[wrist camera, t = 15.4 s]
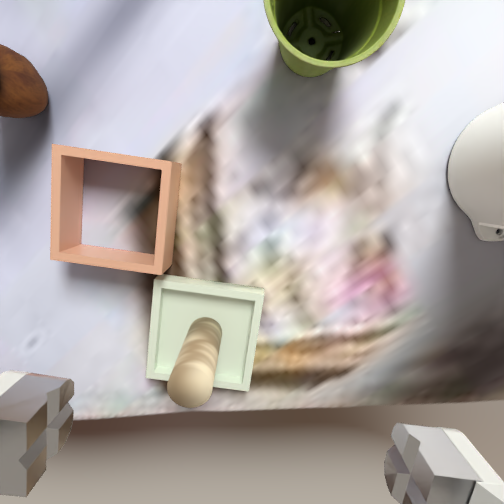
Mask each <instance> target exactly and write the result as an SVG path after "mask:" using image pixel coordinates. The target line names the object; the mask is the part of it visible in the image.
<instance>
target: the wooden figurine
mask: <svg viewBox="0 0 504 504" xmlns="http://www.w3.org/2000/svg"><path fill="white" fill-rule="evenodd" d="M47 103H48V93H47V87H46V85H45V83H44V81H43V79H42V78H41V76H40V75H39V73H38V72H37V70H36V69H35V67H34V66H33V65H32V64H31V62H30V61H28V60H27V59H26V58H25V57H24V56H22V55H20V54H18V53H17V52H15V51H13V50H11V49H10V48H8V47H6V46H3V45H1V44H0V116H3V117H12V118H27V117H31V116H35V115H37V114H39V113H40V112H42V111H43V110H45V108H46V105H47Z"/></svg>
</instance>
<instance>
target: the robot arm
mask: <svg viewBox="0 0 504 504" xmlns="http://www.w3.org/2000/svg"><path fill="white" fill-rule="evenodd" d="M448 183H449V187H450V191H451V194H452V196H453V198H454V200H455V202H456V203H457V205H458V206H459V207H460V208H461V210H462V211H463V212H464V213H465V214H466V215H467V216H468V217H469V218H470V220H471V221H472V225H473V228H474V231H475V233H476V235H477V237H478V238H479V239H480V240H483V241H504V102H503V103H501V104H499V105H497V106H495V107H493V108H491V109H488V110H487V111H485V112H483V113H482V114H480V115H479V116H477V117H476V118H475V119H474V120H472V121H471V122H470V123H469V124H468V125H467V127H466V128H465V129H464V130H463V131H462V133H461V134H460V136H459V137H458V139H457V141H456V143H455V145H454V147H453V149H452V152H451V155H450V159H449V164H448ZM497 229H499V232H498V233H497V234H496V231H497ZM73 395H74V382H73V381H72V380H71V379H67V378H61V377H55V376H48V375H42V374H35V373H28V372H21V371H14V370H10V371H5V372H3V373H2V374H1V375H0V495H9V496H20V497H27V496H28V494H29V492H30V491H31V490H32V489H33V487H34V486H35V484H36V483H37V482H38V480H39V479H40V478H41V476H42V475H43V473H44V472H45V471H46V460H47V459H49V458H50V457H52V456H54V455H56V454H57V453H58V452H59V451H60V450H61V448H62V446H63V445H64V444H65V442H66V440H67V437H68V435H69V432H70V430H71V426H72V422H73V411H74V410H73V409H72V407H71V406H70V405H69V403H68V401H69V400H70V399H71V398H72V397H73ZM391 437H392V439H393V441H394V443H395V445H394V446H392V447H391V448H390V449H389V450H388V451H387V453H386V458H385V462H384V470H385V479H386V483H387V486H388V489H389V491H390V493H391V496H393V497H394V498H395V499H396V500H397V501H398V502H399V503H400V504H504V482H503V481H502V479H501V478H500V477H499V476H498V475H497V473H496V472H495V471H494V470H493V468H492V467H491V466H490V465H489V464H488V462H487V461H486V460H485V459H484V458H483V456H481V454H480V453H479V452H478V451H477V449H476V448H475V447H474V446H473V445H472V443H471V442H470V441H469V440H468V438H467V437H466V436H465V435H464V434H463V433H462V432H461V431H459V430H457V429H453V428H443V427H427V426H420V425H412V424H404V423H397V424H396V425H395V426H394V428H393V431H392V435H391Z"/></svg>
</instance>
